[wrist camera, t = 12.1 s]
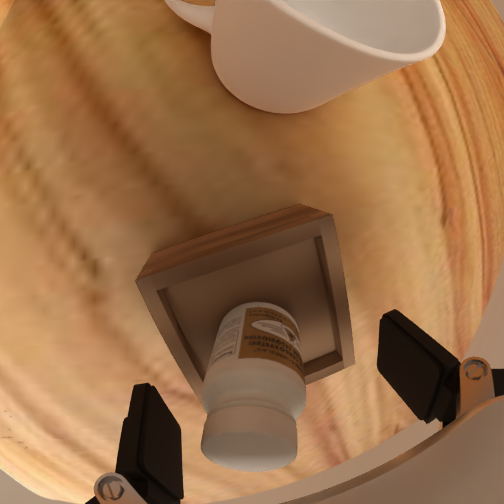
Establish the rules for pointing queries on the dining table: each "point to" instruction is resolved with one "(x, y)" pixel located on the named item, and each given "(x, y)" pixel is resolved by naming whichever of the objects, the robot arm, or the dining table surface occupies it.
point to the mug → (312, 45)
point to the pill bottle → (254, 390)
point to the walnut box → (253, 288)
